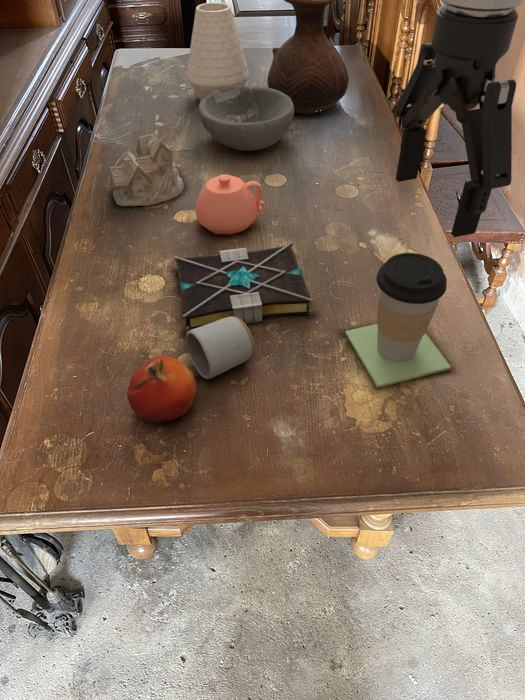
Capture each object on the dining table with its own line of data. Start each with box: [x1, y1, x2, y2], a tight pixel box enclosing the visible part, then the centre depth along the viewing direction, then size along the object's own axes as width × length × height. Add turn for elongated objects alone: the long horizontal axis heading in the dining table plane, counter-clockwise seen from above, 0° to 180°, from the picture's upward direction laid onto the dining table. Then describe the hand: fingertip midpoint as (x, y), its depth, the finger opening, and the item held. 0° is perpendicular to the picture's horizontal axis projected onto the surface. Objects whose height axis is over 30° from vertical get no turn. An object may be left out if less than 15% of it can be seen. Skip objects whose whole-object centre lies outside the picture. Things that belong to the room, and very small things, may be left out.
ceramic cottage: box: [109, 121, 185, 207], centre depth 115 cm, size 16×16×15 cm
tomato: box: [126, 355, 198, 423], centre depth 74 cm, size 9×9×8 cm
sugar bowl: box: [195, 173, 266, 235], centre depth 106 cm, size 12×14×10 cm
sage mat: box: [344, 323, 452, 389], centre depth 84 cm, size 12×12×1 cm
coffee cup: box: [375, 252, 448, 362], centre depth 78 cm, size 9×9×15 cm
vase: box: [185, 2, 250, 102], centre depth 146 cm, size 17×17×23 cm
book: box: [174, 241, 314, 333], centre depth 93 cm, size 22×17×5 cm
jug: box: [266, 0, 350, 115], centre depth 140 cm, size 22×22×30 cm
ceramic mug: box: [185, 316, 255, 380], centre depth 81 cm, size 11×8×8 cm
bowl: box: [197, 85, 295, 151], centre depth 132 cm, size 23×22×10 cm
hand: (432, 204), depth 67 cm, fingers open, 13 cm apart
